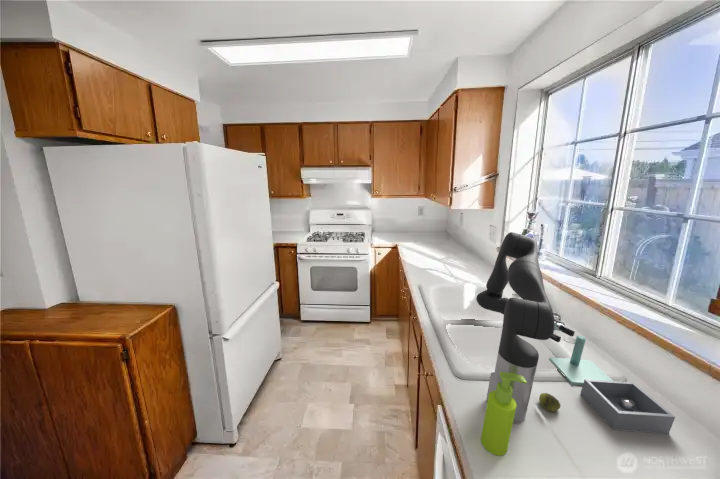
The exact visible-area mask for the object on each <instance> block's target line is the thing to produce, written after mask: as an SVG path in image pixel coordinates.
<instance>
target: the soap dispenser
mask: <svg viewBox="0 0 720 479" xmlns="http://www.w3.org/2000/svg"><path fill="white" fill-rule="evenodd" d="M499 374H500V377H501V379H502V382H499V383H498V384H497V387H496V391H491V392H490V393H489V397H488V402H487V401H486V402H487V403H486V408H485V415H484V418H483V419H484V420H483V424H482V431H481V436H480V441H481V445H482V446H483V448H484V449H485V450H486V451H487V452H488V453H490V454H492V455H494V456H498V457H501V456H504V455H506V454H507V452H508V448H509V443H510V439H511V433H512V430H513V425H514V423H513V420H514V416H515V411H516V406H517V405H516V402H515V400H514V399H513V398H512V393H513V389H512V387H511V386H510V381H517V382H521V383H524V384H526V383H527V381H526V379H525V377H523V376H521V375H518V374H514V373H507V372H500V373H499Z"/></svg>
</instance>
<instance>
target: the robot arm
mask: <svg viewBox="0 0 720 479" xmlns="http://www.w3.org/2000/svg"><path fill="white" fill-rule="evenodd" d="M538 255H539V254H538V243H537V240H536V239H535V238H533V237H531V236H528V235H525V234H520V233H517V232H513V231H511V232H508V233H507V234H506V235H505V236H504V238H503V240H502V243H501V245H500V248H499V251H498V254H497V256H496V260H495V263H494V265H493V266H494V267H493V269H492V272H491V274H490V276H489V278H488V280H487V282H486V285H485V286H486V289H485V290H484V291H481V292H479V293H478V294H477V295H476V298H475V300H476V302H477V304H478V305H479V306H480V307H481V308H483V309H485V310H488V311H491V312H495V313H499V314H502V315H503V320H502V330H501V334H500V336H501V337H500V341H499V346H498V351H497V355H496V362H495V367H494V372H493V371H492V372H490V376H489V382H488V387H487V394H486V402H488V397H489V393H490V392H491V391H496V387H497V384H498V383H499V382H502V379H501V377H500V374H499V373H500V372H507V373H514V374H518V375H521V376H523V377H525V379H526V381H527V383H526V384H524V383H521V382H517V381H510V386H511V387H512V389H513V393H512V398H513V399H514V400H515V402H516V405H517V406H516V411H515V416H514V420H513V424H520V423H522V422H524V421H525V419H526V415H527V412H528V407H529V403H530V397H531V395H532V394H531V393H532V389H533V383H534V380H535V377H536V371H537V367H538V362H539V358H540V357H539V351H538V349H536V347H535V346H534V345H532V344H531V343H529V341H526V340H525V339H522V338H521V337H525V338H529V339H533V340H537V341H547V340H550V339H551V340H553V341H554V342H557V343H560V342H561V340H562V338H561V337H562V336H561V335H559V334H557V333H554V332H555V331H559V332H562V333H563V334H565V335H567V336H569V337H574V336H575V330H573V329H571V328H569V327H567V326H566V324H565V322H564V321H562V320H560V319H557V318H555V316H554V311H553V308H552V305H551V303H550V300H549V298H548V295H547V293H546V290H545V285H544V281H543V274H542V270H541V268H540V267H541V266H540V263H539V259H538V257H539V256H538ZM507 257H509V258H513V259H515V260H514V261H512V262H511V263H510V264H509V266H507ZM508 284H509V286H510V288H511V290H512V291H513V292H514V293H515V294H516V295H517V296H518V297H520V298H517V297H510V298H508V297H503V294H504V290H505V288H506V286H507V285H508ZM520 336H521V337H520Z"/></svg>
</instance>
